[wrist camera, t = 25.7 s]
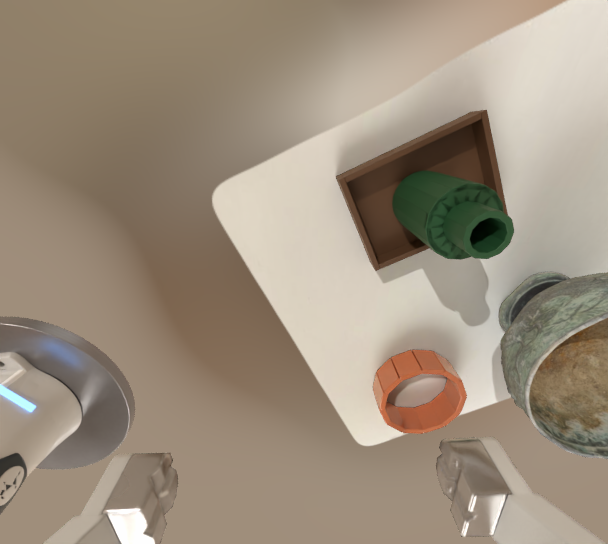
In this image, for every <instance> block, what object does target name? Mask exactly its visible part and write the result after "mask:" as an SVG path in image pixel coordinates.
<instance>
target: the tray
mask: <svg viewBox="0 0 608 544" xmlns="http://www.w3.org/2000/svg"><path fill="white" fill-rule="evenodd" d="M418 171H434V172H438V173H442V174H446V175H450V176H454V177H457V178H461V179H465V180H469V181H473V182H476V183H480V184H484V185H486V186H487V187H489V188H491V189H492V190H494V191H495V192H496V193H497V194H498V196H499V198H500V199H501V201H502V203H503V210H504V213H505V214H506V215H508V214H507V209H506V204H505V199H504V194H503V189H502V184H501V179H500V174H499V169H498V164H497V159H496V154H495V149H494V144H493V139H492V134H491V129H490V124H489V119H488V114H487V110H481V111H474V112H470V113H468V114H466V115H464V116H462V117H460V118H458V119H456V120H454V121H451V122H449V123H447V124H445V125H443V126H441V127H439V128H437V129H435V130H433V131H430V132H428V133H426V134H424V135H422V136H420V137H418V138H416V139H414V140H412V141H410V142H407V143H405V144H403V145H401V146H399V147H397V148H395V149H393V150H391V151H389V152H386V153H384V154H382V155H380V156H378V157H376V158H374V159H372V160H370V161H368V162H366V163H363V164H361V165H359V166H357V167H355V168H353V169H351V170H349V171H347V172H345V173H342V174H340V175H338V176H336V179H337V181H338V184H339V186H340V189H341V191H342V194H343V196H344V199H345V201H346V203H347V206H348V208H349V211H350V213H351V216H352V218H353V221H354V223H355V225H356V228H357V230H358V233H359V235H360V238H361V240H362V243H363V245H364V248H365V250H366V252H367V255H368V257H369V260H370V262H371V264H372V266H373V267H374V269H375V271H377V270H379V269H380V268H384V267H386V266H388V265H391V264H393V263H395V262H398V261H400V260H403V259H405V258H407V257H410V256H412V255H414V254H417V253H419V252H422V251H424V250H426V249H429V248H430V247H428V246H427V245H426V244H425V243H424V242H422V241H421V240H420V239H419V238H418V237H416V236H415V235H414V234H413V233H412V232H410V231H409V230H408V229H407V228H406V227H405V226H403V225H402V224H401V223H400V222H399V220H398V219H397V218H396V216H395V214H394V212H393V207H392V201H393V196H394V193H395V190H396V188H397V187H398V185H399V184H400V183H401V181H402V180H404V179H405V178H406V177H407V176H409V175H410V174H412V173H415V172H418Z"/></svg>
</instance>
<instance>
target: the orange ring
mask: <svg viewBox="0 0 608 544" xmlns="http://www.w3.org/2000/svg"><path fill="white" fill-rule="evenodd" d="M391 358H392V359H391ZM391 358H389V359H388V360H387V361H386V362H385V363H384V364H383V365H382V366H381V368H380V369H379V370H378V371H377V373H376V375H375V380H374V384H373V391H374V395H375V398H376V401H377V404H378V408H379V411H380V413H381V415H382V417H383V419H384V421H385V423H387V425H389V426H391V427H393V428H395V429H397V430H399V431H400V432H403V433H421V434H422V433H423V432H424V433H427V432H430V431H433V430H436V429H439V428H442V427H444V426H446V425H447V424H448V423H450V422H451V421H452V420H453V419H454V418H456V417H457V416H458V415H459V414H460V412H461V411H462V408H463V405H464V403H465V400H466V398H467V397H466V396H467V394H466V391H465V388H464V385H463V383H462V380H461V379H460V377H459V376H458V374H457V373H456V371H455V370H454V369H453V367H452V366H451V364H450V363H449V361H448V360H446V359H445V358H443V357H442V356H440V355H439V354H437V353H435V352H434V351H433V352H432V351H426V350H412V351H411V350H409V351H406V352H404V353H401V354H398V355H396V356H393V357H391ZM420 374H439V375H443V376H445V377H447V378H448V379H447V382H446V385H445V388H444V390H443V391H442V392H441V393H440V394H439V395H438V396H437V397H436V398H435V399H433V400H432V401H431V402H429V403H426V404H423V405H421V406H418V407H415V408H409V407H396V406H394V405H392V404H390V403H389V402H387V398H388V394H389V393H390V392H391V391H392V390H393V389H394V388H395V387H396V386H397V385H398V384H399V383H400V382H401V381H403V380H406V379H408V378H411V377H414V376H417V375H420ZM443 425H444V426H443Z"/></svg>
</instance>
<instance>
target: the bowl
mask: <svg viewBox="0 0 608 544" xmlns="http://www.w3.org/2000/svg"><path fill="white" fill-rule="evenodd" d="M499 321H500V324H501V326H502V328H503V329H504V331H505V332H506V333H505V334H504V336H503V337H502V339H501V350H502V356H501V359H502V362H501V363H502V366H503V372H504V378H505V381H506V385H507V389H508V392H509V393H510V394H511V397H512V398H513V399H514V402H515V404H516V406H518V407H520V408H522V409H523V410H524V411H525V413H526V414H527V416H528V417H529V418H530V420H531V421H532V423H533V425H534V426H535V428H537V430H538V431H539V432H540V434H542V435H543V436H544V437H546V438H547V439H548V440H550V441H551V442H553V443H554V444H556V445H557V446H559V447H560V448H562V449H564V450H566V451H568V452H570V453H574V454H577V455H581V456H584V457H591V458H605V459H608V273H598V274H592V275H587V276H582V277H575V278H572V279H570V278H568V277H567V276H565V275H563V274H560V273H556V272H543V273H538V274H535V275H532V276H530V277H529V278H527V279H526V280H525V281H524V282H523V283H522V284H521V285H520V286H519V287H518V288H516V289H515V290H514V291H513V292H512V293H511V294H510V295H509V296H508V297H507V298H506V299H505V301H504V302H503V303H502V304H501V307H500V311H499Z"/></svg>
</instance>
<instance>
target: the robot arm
mask: <svg viewBox="0 0 608 544" xmlns="http://www.w3.org/2000/svg"><path fill="white" fill-rule="evenodd" d="M81 420H82V410H81V406H80V404H79V402H78V400H77V398H76V397H75V395H74V394H73V393H72V392H71V391H70V389H69V388H67V387H66V386H65V385H64V384H63V383H61V382H60V381H59V380H57V379H56V378H54V377H52V376H50V375H48V374H46V373H44V372H42V371H40V370H38V369H37V368H35V367H34V366H33V365H31V364H30V363H29V362H28V361H27V360H26V359H25V358H23V357H22V356H21V355H19V354H17V353H14V352H4V353H0V514H1V513H2V512H3V510H4V509H5V508H6V506H7V505H8V504H9V503H10V501H11V500H12V499H13V497H14V496H15V494H16V492H17V491H18V490H19V488H20V487H21V485H22V483H23V482H24V480H25V479H26V477H27V476H28V475H29V474H30V473H31V472H32V471H33V470H34V469H35V468H36V467H37V466H38V465H39V464H40V463H41V462H42V461H43V460H44V459H45V458H46V457H47V456H48V455H49V454H50V453H51V452H52V451H53V450H54V449H55V448H56V447H57V446H58V445H59V444H60V443H62V442H63V441H64V440H65V439H66V438H67V437H69V436H70V435H71V434H72V433H74V432H75V431H76V430H77V429H78V427H79V426H80V423H81ZM439 448H440V450H441V452H442V454H441V455H440V456H439V457H438V458H437V463H436V469H437V476H438V480H439V483H440V486H441V488H442V491H443V493H444V494H445V495H446V496H447V497H448V498H449V499H450V500H451V501H452V505H451V513H452V515H453V518H454V520H455V522H456V525H457V527H458V530H459V532H460V534H461V537H481V536H483V537H484V536H493V539H494V540H495V541H496V542H497V543H498V544H607V543H605V542H604V541H603V540H601V539H600V538H599V537H597V536H596V535H595V534H593V533H592V532H590V531H589V530H588V529H586V528H585V527H584V526H582V525H581V524H580V523H578V522H577V521H576V520H574V519H573V518H571V517H570V516H569V515H567V514H566V513H565V512H563V511H562V510H561V509H559V508H558V507H557V506H555V505H554V504H552V503H551V502H550V501H549V500H547V499H546V498H544V497H543V496H542V495H540V494H539V493H538V494H537V493H536V494H535V493H533V492H532V490H531V489H530V488H529V486H528V485H527V483H526V482H525V480H524V479H523V477H522V476H521V474H520V473H519V471H518V470H517V468H516V467H515V465H514V464H513V462H512V461H511V459H510V458H509V456H508V455H507V453H506V452H505V450H504V449H503V447H502V446H501V444H500V443H499V441H498V440H497V439H496V438H494V437H482V438H475V437H471V438H456V439H443V440H442V441H441V443H440V447H439ZM172 461H173V459H172V456H171V453H144V454H143V453H142V454H117V455H116V456H115V457H114V458H113V459H112V460H111V462H110V464H109V466H108V467H107V469H106V471H105V473H104V474H103V476H102V478H101V480H100V481H99V483H98V485H97V487H96V488H95V490H94V492H93V494H92V495H91V497H90V499H89V501H88V502H87V504H86V506H85V508H84V509H83V511H82V513H81V515H79V516H74V517H73V518H72V519H70V520H69V521H68V522H67V523H66V524H65V525H64V526H62V527H61V528H60V529H59V530H58V531H57V532H55V533H54V534H53V535H52V536H51V537H50V538H49V539H47V540H46V541H45V542H44V543H43V544H160V543H161V540H162V537H163V534H164V531H165V528H166V525H167V523H166V519H165V516H164V515H165V514H166V513H167V512H168V511H169V510H170V509H171V508H172V507H173V504H174V500H175V497H176V493H177V487H178V476H177V472H176V470H175V469H174V468H172V467H171V464H172Z"/></svg>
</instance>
